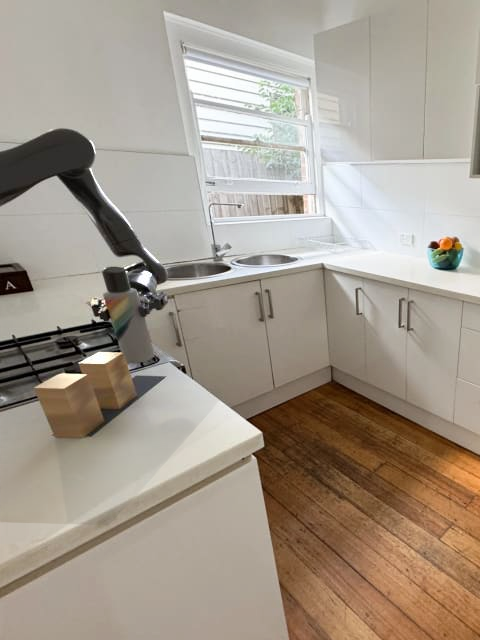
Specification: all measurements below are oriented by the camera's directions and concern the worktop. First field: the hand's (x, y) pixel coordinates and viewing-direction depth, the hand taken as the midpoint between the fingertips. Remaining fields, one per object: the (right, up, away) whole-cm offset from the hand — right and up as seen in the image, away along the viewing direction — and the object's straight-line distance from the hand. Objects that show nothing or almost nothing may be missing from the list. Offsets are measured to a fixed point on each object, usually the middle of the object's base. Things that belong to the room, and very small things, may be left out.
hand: (123, 314), depth 77 cm
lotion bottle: (-1, -9, +7) cm, 11 cm away
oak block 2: (-2, -18, 0) cm, 18 cm away
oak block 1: (-2, -21, -8) cm, 23 cm away
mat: (-2, -18, 0) cm, 18 cm away
